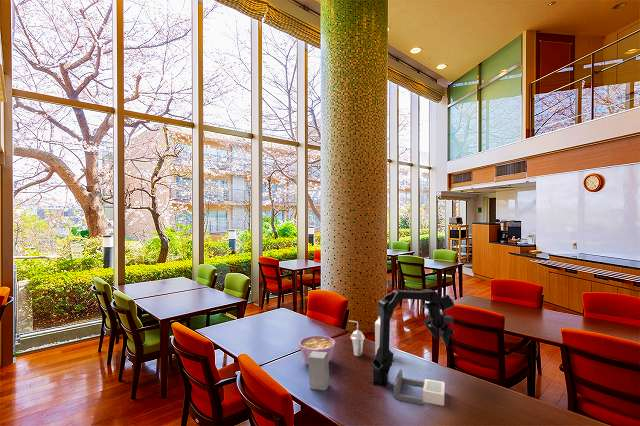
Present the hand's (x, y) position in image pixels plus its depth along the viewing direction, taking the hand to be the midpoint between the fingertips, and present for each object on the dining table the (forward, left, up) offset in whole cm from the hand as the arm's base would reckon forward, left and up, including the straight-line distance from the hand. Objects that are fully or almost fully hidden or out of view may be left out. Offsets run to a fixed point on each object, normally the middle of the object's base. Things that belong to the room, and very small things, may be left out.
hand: (441, 342), depth 166 cm
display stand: (-12, -25, -15) cm, 32 cm away
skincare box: (-53, -37, -16) cm, 66 cm away
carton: (-2, -25, -16) cm, 29 cm away
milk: (-33, +8, -16) cm, 37 cm away
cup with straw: (-47, +4, -16) cm, 50 cm away
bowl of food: (-64, -15, -16) cm, 67 cm away
